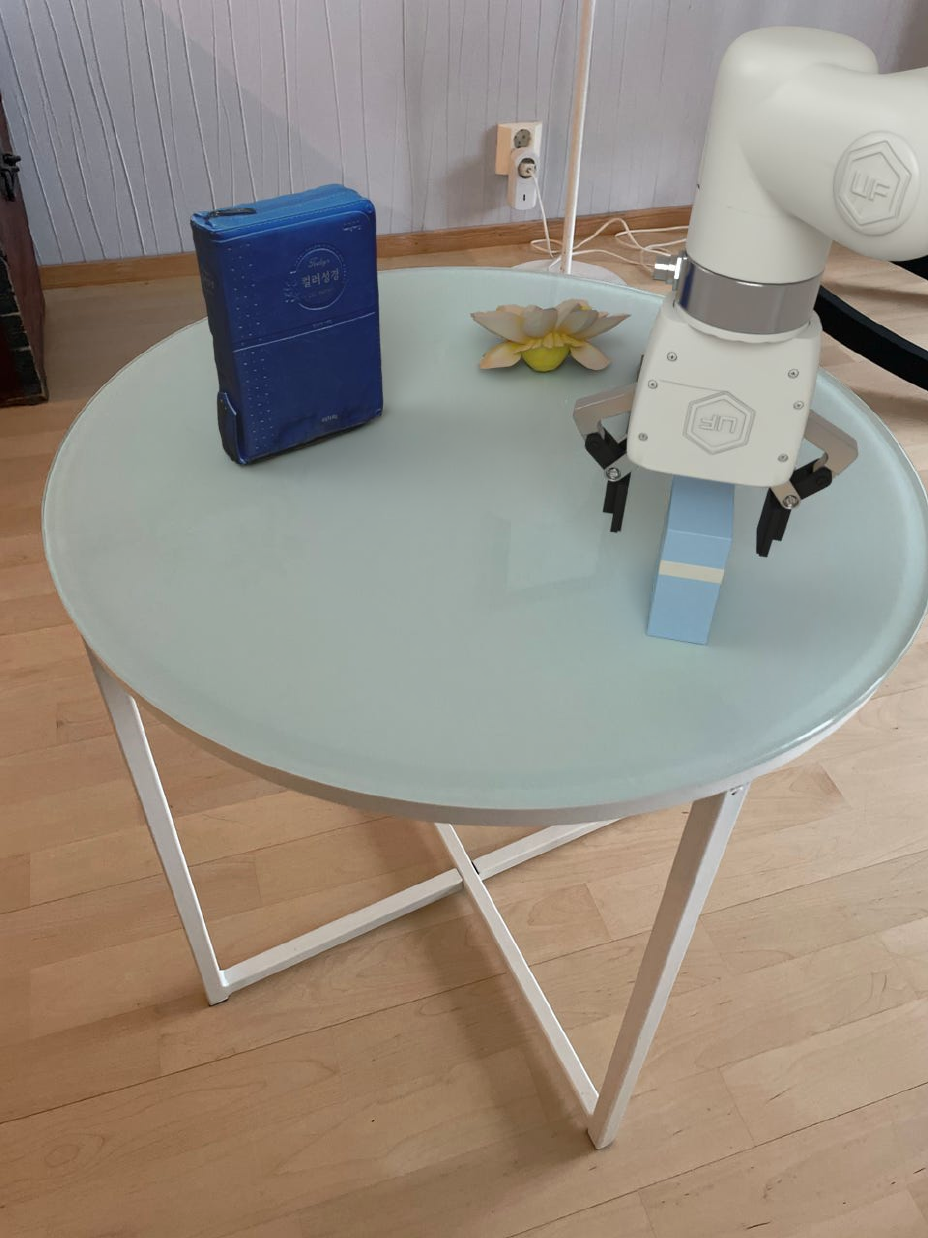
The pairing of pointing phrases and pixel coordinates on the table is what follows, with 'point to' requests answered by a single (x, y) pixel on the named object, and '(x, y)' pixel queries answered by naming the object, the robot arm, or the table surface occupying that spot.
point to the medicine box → (691, 559)
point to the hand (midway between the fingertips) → (688, 532)
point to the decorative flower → (546, 334)
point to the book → (292, 318)
